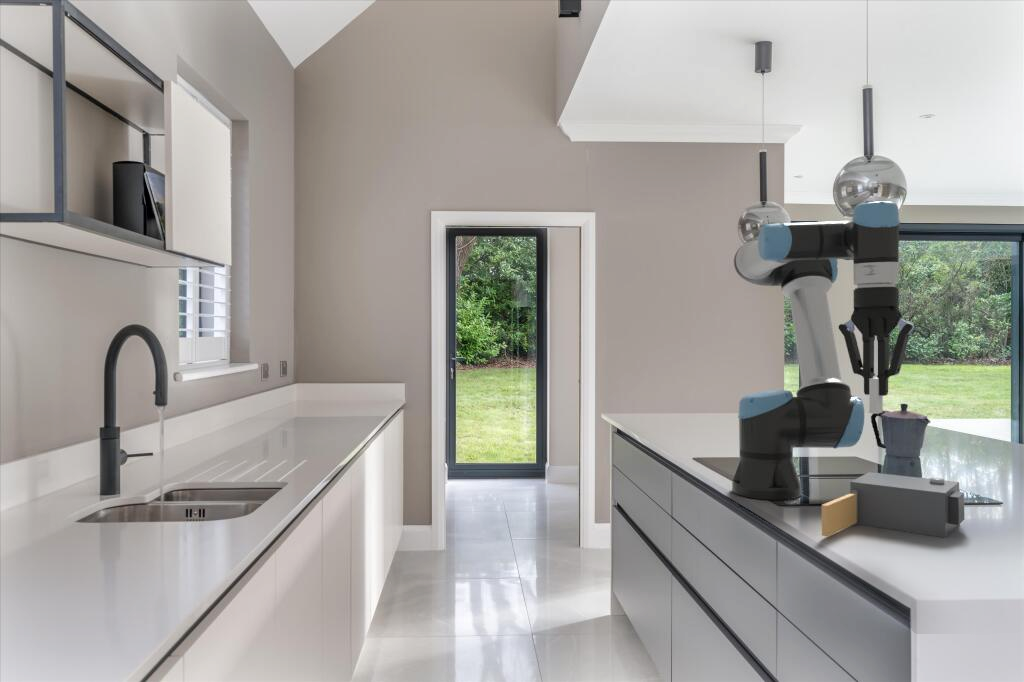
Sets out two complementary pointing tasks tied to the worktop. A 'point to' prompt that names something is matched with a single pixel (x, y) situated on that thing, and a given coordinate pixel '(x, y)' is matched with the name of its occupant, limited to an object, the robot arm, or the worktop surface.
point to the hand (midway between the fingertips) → (876, 412)
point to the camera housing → (909, 503)
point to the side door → (840, 513)
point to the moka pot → (901, 441)
